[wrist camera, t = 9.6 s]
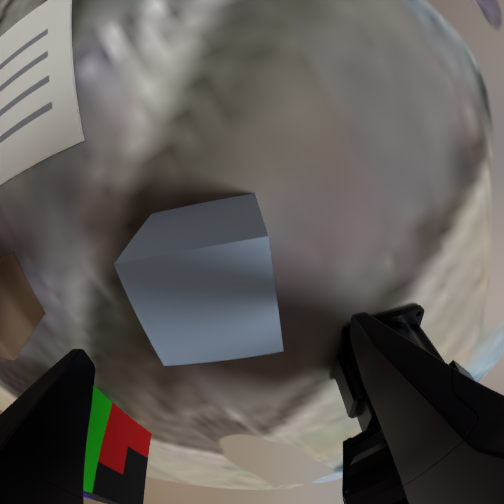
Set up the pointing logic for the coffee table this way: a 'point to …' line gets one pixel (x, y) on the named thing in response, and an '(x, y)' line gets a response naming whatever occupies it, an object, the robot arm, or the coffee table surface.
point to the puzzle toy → (114, 455)
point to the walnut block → (16, 308)
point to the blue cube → (204, 282)
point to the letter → (37, 89)
